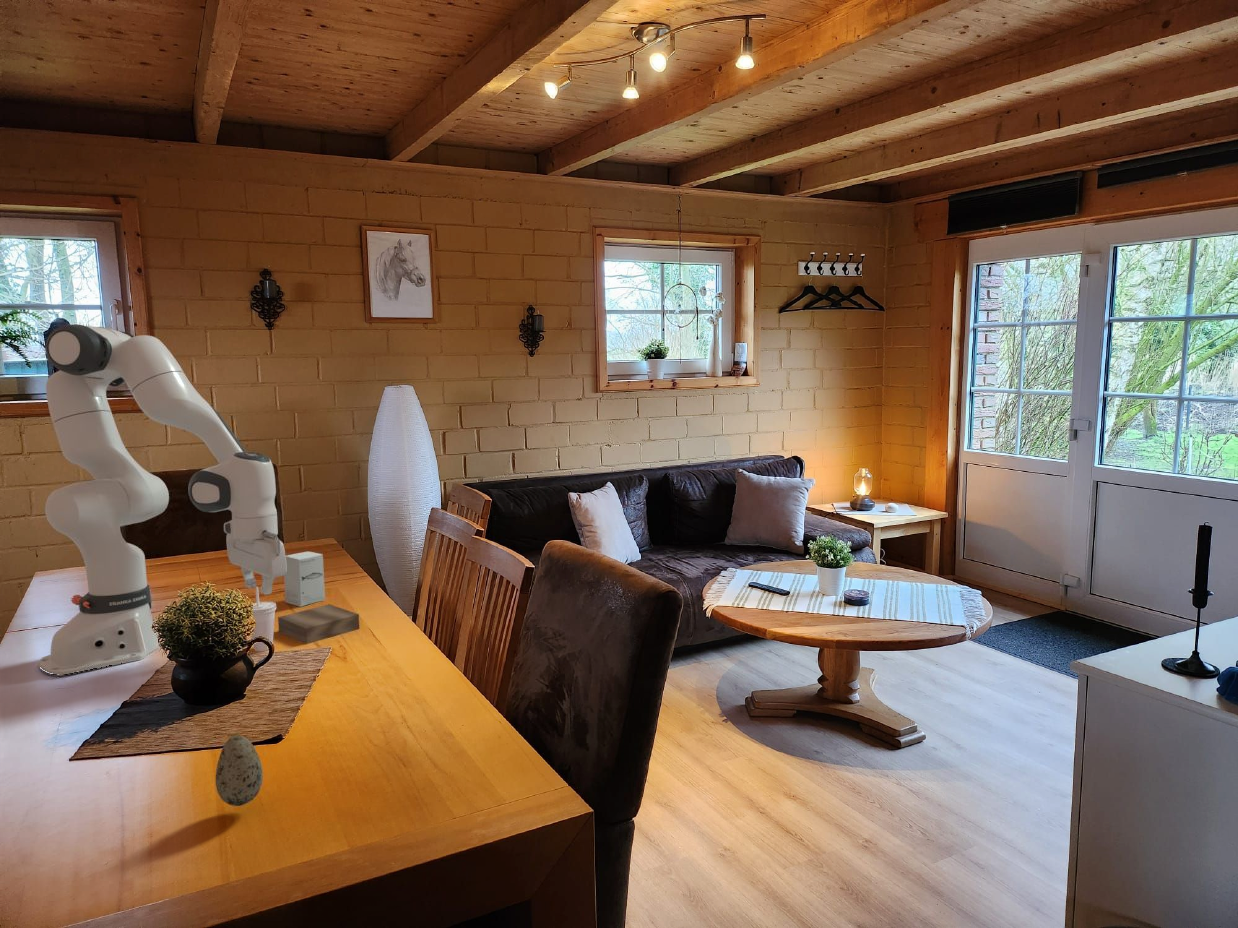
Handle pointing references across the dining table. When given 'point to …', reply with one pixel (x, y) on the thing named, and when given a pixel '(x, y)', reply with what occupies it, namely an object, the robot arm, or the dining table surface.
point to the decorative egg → (238, 772)
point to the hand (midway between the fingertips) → (258, 590)
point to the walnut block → (318, 623)
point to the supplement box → (304, 579)
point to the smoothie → (263, 621)
